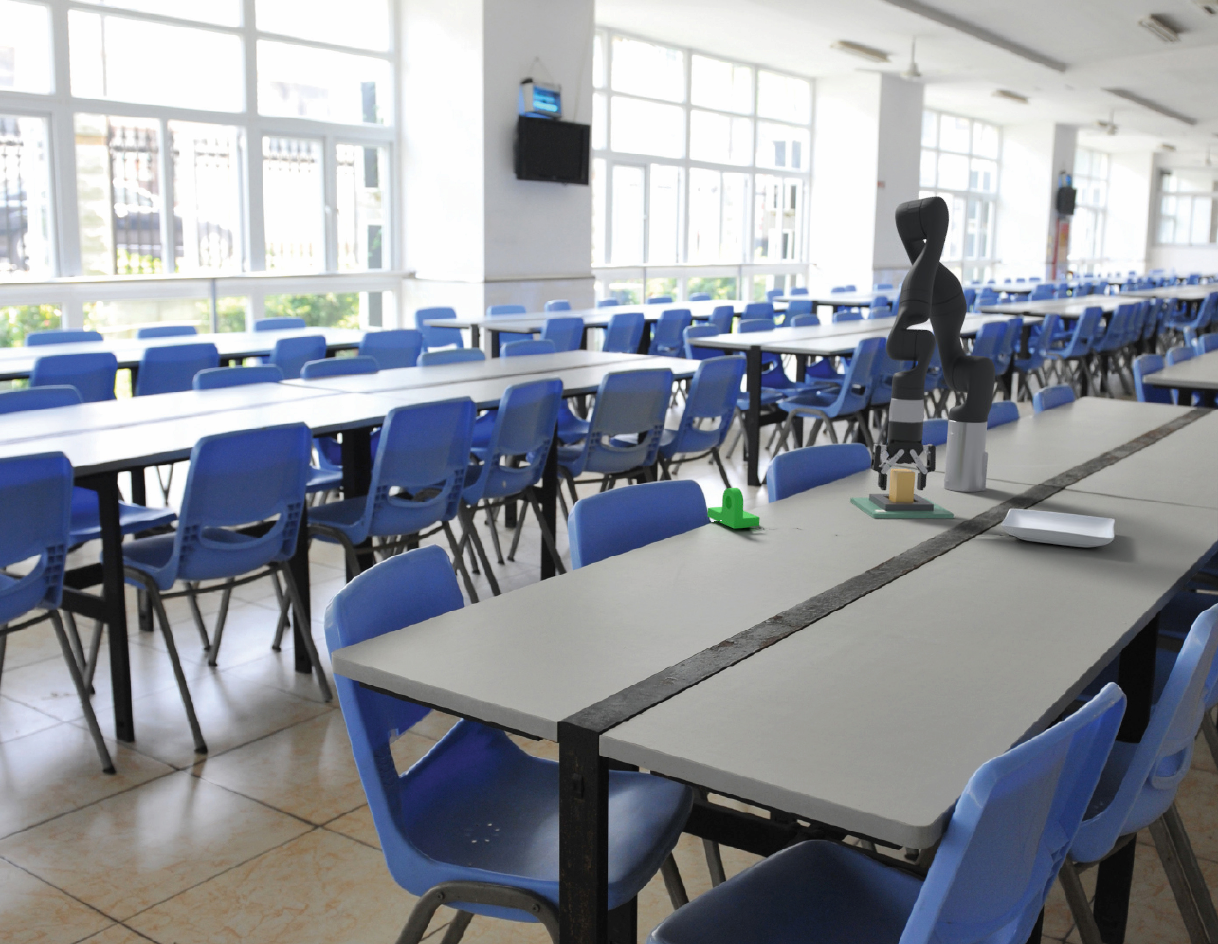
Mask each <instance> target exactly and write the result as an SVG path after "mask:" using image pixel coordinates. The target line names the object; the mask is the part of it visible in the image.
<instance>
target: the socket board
mask: <svg viewBox="0 0 1218 944" xmlns="http://www.w3.org/2000/svg"><path fill="white" fill-rule="evenodd" d="M849 502H850V503H852V504H853V505H854V506H855V507H856V508H858V509H859V510H861V511H863V512H864V513H865V514H867V515H868V516H870V517H871V518H873V519H955V518H954V516H955V513H954V512H951V511H949V510H948V509H946V508H944V507H942V506H941V505H939V504H937V503H936V502H934V501H932V500H931V499H928V498H927V497H922V496H920V495H918V494H916V493H914V501H913V502H892V501H891V500H889V493H868V497H850V501H849Z"/></svg>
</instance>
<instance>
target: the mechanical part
mask: <svg viewBox="0 0 1218 944" xmlns="http://www.w3.org/2000/svg"><path fill="white" fill-rule="evenodd" d="M721 503H722V504H721V506H713V507H707V518H710V519H712V520H714V521H716V522H718V521H720V520H722V521H720V522H719V523H721V524H723V525H725V526H727V527H730V528H733V529H743V528H751V527H758V526H760V516H757V515H755V514H752V513H750V512H748V511H746V510H744V496H743V493H742V491H741V489H740V488H739V487H728V488H725V490H724V491H723V493H722V499H721Z"/></svg>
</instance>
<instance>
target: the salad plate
mask: <svg viewBox="0 0 1218 944" xmlns="http://www.w3.org/2000/svg"><path fill="white" fill-rule="evenodd" d="M1115 524H1116V519H1114V518H1109V517H1102V516H1101V517H1100V516H1099V517H1098V516H1093V515H1084V514H1074V513H1067V512H1059V511H1058V512H1055V511H1045V510H1044V511H1043V510H1033V509H1024V508H1023V509H1022V508H1021V509H1020V508H1009V510H1008V512H1007V514H1006V516H1005V518H1004V519H1003V520H1002V522H1001V523H1000V526H1001V528H1002V530H1003V531H1004V532H1005V533H1007V534H1008V535H1010V536H1013V537H1016V538H1018V539H1021V540H1024V541H1028V542H1036V543H1044V544H1053V545H1061V546H1067V547H1068V546H1069V547H1078V548H1095V547H1102V546H1106V545H1109V544H1110V543H1112V541H1113V540H1114V539H1115V537H1116V534H1115Z"/></svg>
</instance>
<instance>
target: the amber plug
mask: <svg viewBox="0 0 1218 944" xmlns="http://www.w3.org/2000/svg"><path fill="white" fill-rule="evenodd" d="M915 481H916V472H914V471H913V470H911V469H909V468H890V477H889V491H888V494H889V500H891V501H892V502H913V501H914V494H915V487H916V486H915V483H916V482H915Z"/></svg>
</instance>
